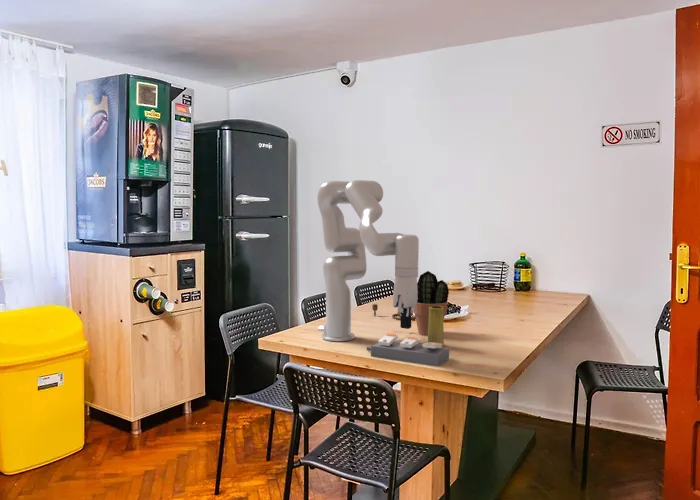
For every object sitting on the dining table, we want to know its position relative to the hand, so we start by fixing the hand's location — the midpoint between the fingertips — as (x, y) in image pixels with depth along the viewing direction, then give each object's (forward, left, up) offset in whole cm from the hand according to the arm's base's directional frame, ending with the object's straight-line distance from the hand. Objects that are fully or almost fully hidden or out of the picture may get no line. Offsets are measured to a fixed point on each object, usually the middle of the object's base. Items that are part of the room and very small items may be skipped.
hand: (405, 327), depth 177 cm
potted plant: (-7, +39, -11) cm, 41 cm away
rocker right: (+8, +3, -5) cm, 10 cm away
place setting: (-32, +63, -11) cm, 72 cm away
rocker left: (-8, +3, -5) cm, 10 cm away
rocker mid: (0, +3, -5) cm, 6 cm away
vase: (+2, +22, -11) cm, 24 cm away
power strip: (-2, +3, -11) cm, 11 cm away
